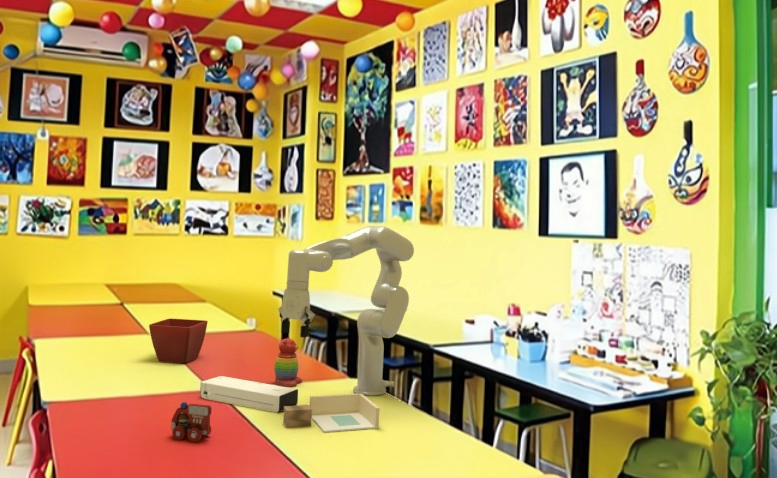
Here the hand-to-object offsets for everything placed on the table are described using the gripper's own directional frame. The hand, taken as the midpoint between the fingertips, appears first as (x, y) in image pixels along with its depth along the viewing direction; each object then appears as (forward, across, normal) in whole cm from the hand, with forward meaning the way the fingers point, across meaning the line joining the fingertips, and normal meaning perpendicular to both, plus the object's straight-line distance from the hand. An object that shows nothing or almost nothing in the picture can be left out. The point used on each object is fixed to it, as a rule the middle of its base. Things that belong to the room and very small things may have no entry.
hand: (294, 335), depth 234 cm
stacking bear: (+25, -25, +21) cm, 41 cm away
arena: (+25, +24, +1) cm, 35 cm away
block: (+26, +16, -11) cm, 32 cm away
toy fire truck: (+27, +5, -43) cm, 51 cm away
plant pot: (+25, -88, +12) cm, 92 cm away
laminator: (+26, -15, -7) cm, 31 cm away
